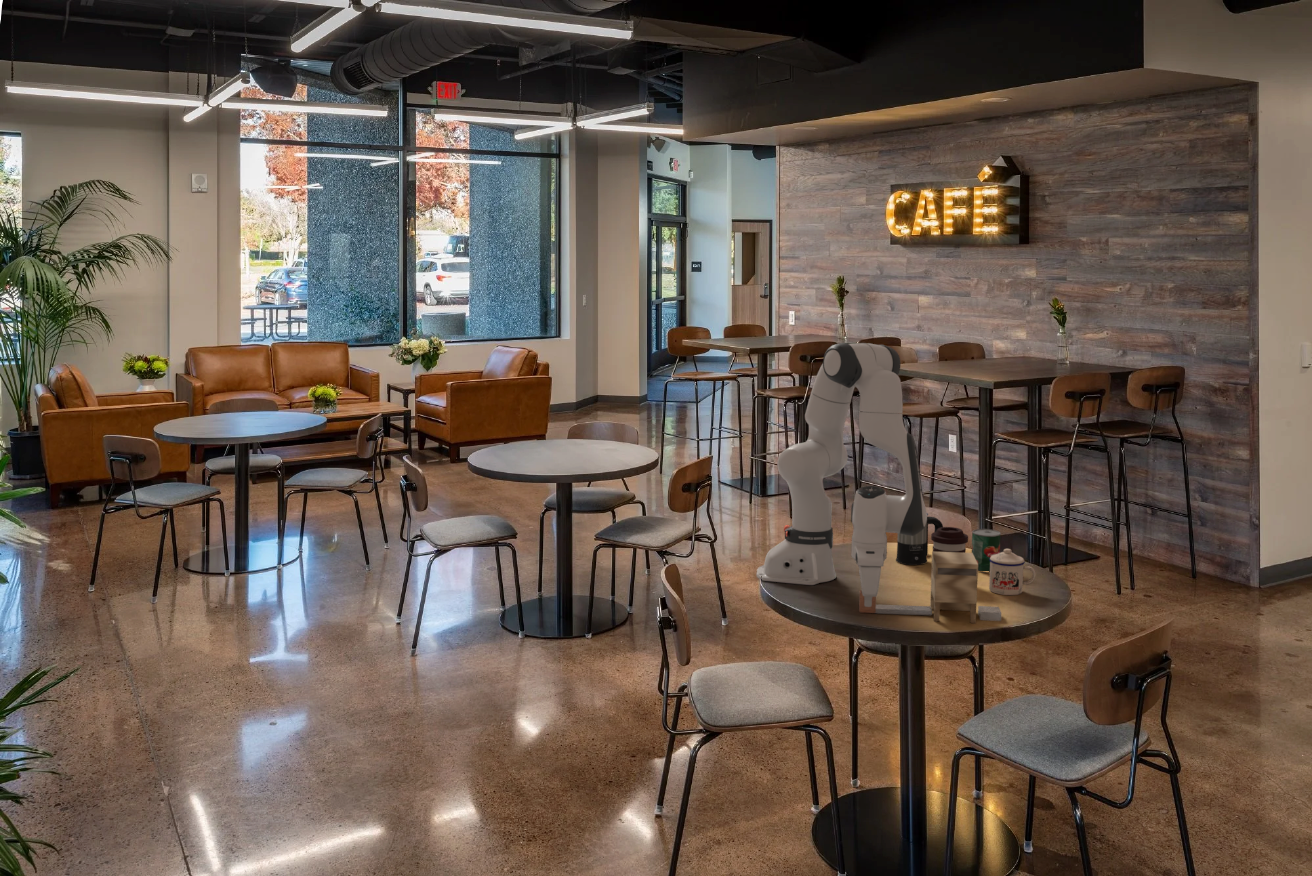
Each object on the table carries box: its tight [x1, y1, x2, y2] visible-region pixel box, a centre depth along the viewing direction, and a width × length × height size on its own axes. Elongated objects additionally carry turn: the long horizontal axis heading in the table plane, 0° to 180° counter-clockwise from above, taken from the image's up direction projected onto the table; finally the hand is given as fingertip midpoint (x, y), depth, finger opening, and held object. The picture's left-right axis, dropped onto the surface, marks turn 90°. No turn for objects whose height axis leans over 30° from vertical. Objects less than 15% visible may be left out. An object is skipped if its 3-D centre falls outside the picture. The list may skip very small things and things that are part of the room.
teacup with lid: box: [988, 548, 1037, 596], centre depth 298 cm, size 12×9×12 cm
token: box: [977, 605, 1002, 622], centre depth 277 cm, size 5×5×2 cm
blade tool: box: [858, 589, 933, 616], centre depth 280 cm, size 18×4×5 cm, turn 82°
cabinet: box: [929, 550, 979, 624], centre depth 277 cm, size 10×11×15 cm
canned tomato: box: [971, 528, 1002, 572], centre depth 320 cm, size 8×8×11 cm
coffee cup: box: [930, 526, 969, 553], centre depth 307 cm, size 10×10×15 cm
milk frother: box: [895, 512, 944, 566], centre depth 332 cm, size 14×16×15 cm
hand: (867, 603), depth 281 cm, fingers closed on blade tool, 3 cm apart
